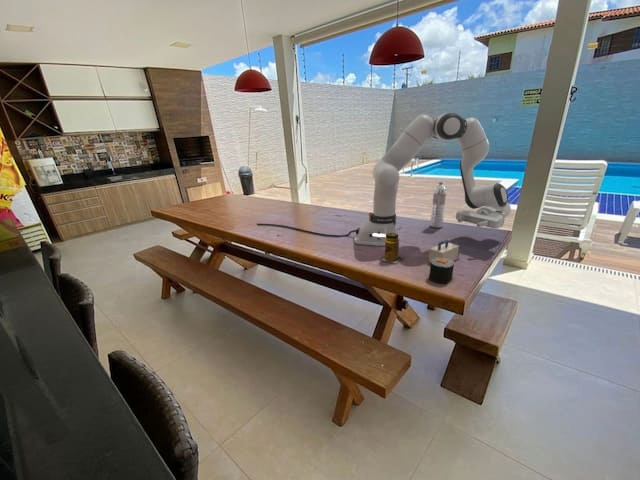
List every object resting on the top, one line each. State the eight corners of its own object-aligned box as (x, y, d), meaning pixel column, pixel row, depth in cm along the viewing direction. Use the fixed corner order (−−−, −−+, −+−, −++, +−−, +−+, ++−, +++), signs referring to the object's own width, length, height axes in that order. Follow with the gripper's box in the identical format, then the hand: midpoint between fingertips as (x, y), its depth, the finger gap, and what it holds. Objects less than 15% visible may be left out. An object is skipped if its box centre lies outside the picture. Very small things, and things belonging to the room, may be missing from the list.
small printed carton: (440, 266, 130) (443, 245, 126) (428, 262, 135) (430, 241, 131) (458, 259, 136) (461, 238, 132) (445, 254, 141) (448, 235, 137)
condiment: (380, 260, 139) (381, 235, 134) (390, 253, 145) (391, 229, 140) (395, 263, 135) (396, 238, 130) (404, 257, 140) (405, 232, 135)
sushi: (446, 285, 116) (449, 266, 112) (425, 279, 121) (427, 261, 117) (455, 277, 121) (457, 259, 117) (434, 271, 126) (436, 254, 123)
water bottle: (443, 228, 173) (448, 183, 162) (430, 228, 174) (434, 183, 163) (441, 224, 179) (446, 181, 168) (429, 224, 180) (433, 181, 169)
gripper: (466, 205, 150) (449, 211, 143) (509, 213, 135) (491, 220, 128) (464, 218, 153) (447, 224, 146) (506, 227, 137) (489, 234, 130)
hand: (468, 222), depth 137 cm, fingers open, 8 cm apart
